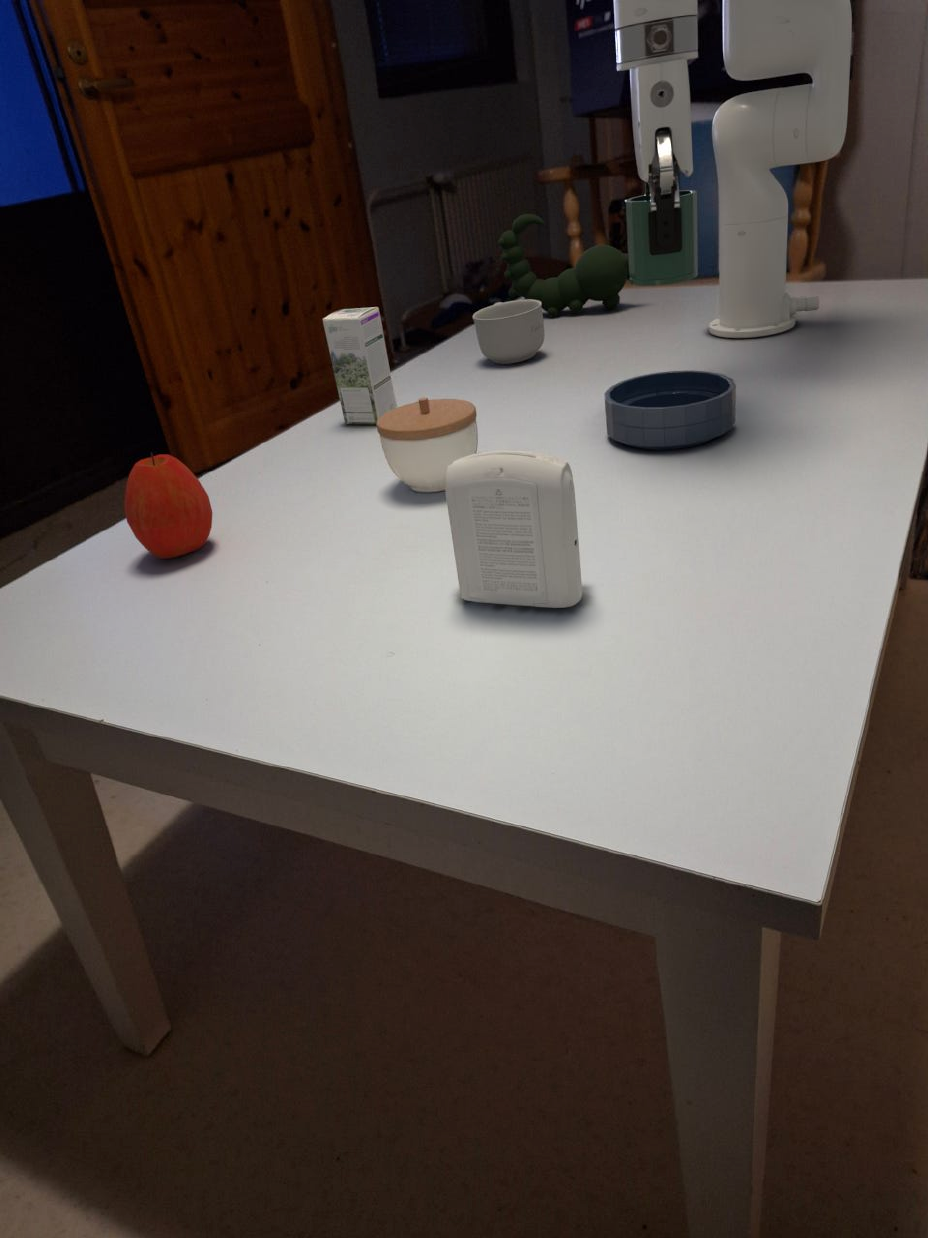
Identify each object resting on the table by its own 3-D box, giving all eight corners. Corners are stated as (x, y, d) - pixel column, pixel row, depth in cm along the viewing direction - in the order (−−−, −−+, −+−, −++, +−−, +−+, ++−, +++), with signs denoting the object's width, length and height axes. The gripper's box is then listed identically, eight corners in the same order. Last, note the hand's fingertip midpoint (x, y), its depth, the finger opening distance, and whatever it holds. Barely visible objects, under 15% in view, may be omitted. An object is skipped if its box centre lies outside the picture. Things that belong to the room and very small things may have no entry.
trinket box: (497, 463, 102) (486, 381, 97) (466, 501, 93) (453, 413, 88) (410, 465, 105) (396, 385, 101) (373, 501, 97) (356, 416, 92)
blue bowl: (725, 406, 107) (725, 364, 105) (744, 446, 95) (744, 400, 93) (605, 418, 110) (603, 378, 107) (609, 459, 98) (606, 414, 95)
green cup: (693, 268, 97) (692, 187, 93) (701, 280, 91) (700, 193, 87) (627, 277, 98) (624, 197, 94) (631, 288, 92) (627, 204, 88)
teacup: (548, 362, 137) (543, 308, 133) (478, 372, 138) (471, 319, 134) (543, 342, 149) (538, 292, 145) (479, 351, 150) (472, 301, 146)
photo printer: (589, 587, 73) (577, 441, 67) (575, 613, 70) (562, 462, 64) (473, 581, 77) (451, 443, 71) (454, 605, 74) (430, 462, 68)
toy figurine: (511, 333, 166) (647, 307, 158) (489, 224, 158) (632, 191, 150) (521, 321, 174) (651, 296, 166) (500, 217, 165) (637, 185, 157)
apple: (178, 574, 87) (143, 470, 82) (124, 564, 91) (87, 464, 86) (238, 539, 93) (209, 440, 88) (184, 530, 97) (153, 435, 92)
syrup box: (399, 411, 125) (380, 304, 118) (378, 425, 121) (357, 315, 114) (364, 411, 128) (344, 306, 121) (343, 425, 123) (320, 317, 116)
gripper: (708, 33, 76) (710, 255, 85) (688, 44, 91) (691, 232, 100) (619, 49, 78) (629, 265, 86) (613, 57, 92) (622, 241, 101)
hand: (662, 246), depth 93 cm, fingers closed on green cup, 7 cm apart
